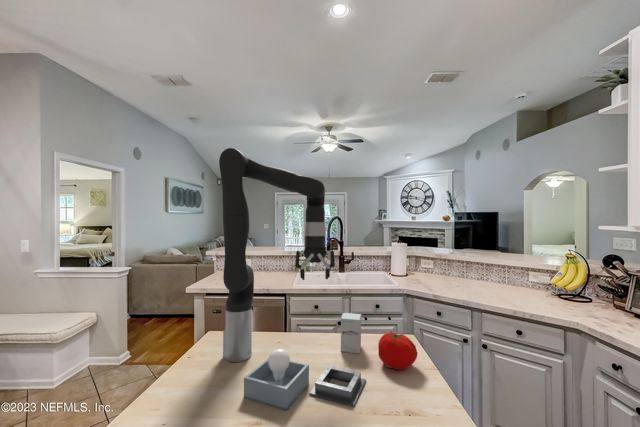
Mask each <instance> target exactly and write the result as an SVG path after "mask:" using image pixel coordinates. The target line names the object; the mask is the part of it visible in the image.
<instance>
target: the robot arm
mask: <svg viewBox="0 0 640 427" xmlns="http://www.w3.org/2000/svg"><path fill="white" fill-rule="evenodd" d="M218 164H219V165H218V166H219V171H220V172H219V173H220V179H221V180H220V181H221V187H222V188H221V189H222V193H221V194H222V227H223V245H224V261H223V262H224V264H223V276H222V277H223V278H222V279H223V280H222V281H223V285H224V287H225V288H226V289H227V290H228V295H227V299H226V302H225V329H223V331H222V334H223V336H222V358H224V359H225V360H226V361H227V362H231V363H237V362H243V361H246V360H248V359H250V358H251V357H252V353H253V352H252V347H253V346H252V345H253V344H252V337H253V335H252V334H253V331H252V330H253V328H252V327H253V326H252V325H253V324H252V323H253V321H252V320H253V299H254V294H255V293H254V289H255V288H254V287H255V274H254V270H253V268H252V267H251V266H250V265H249V264H247V258H246V257H247V256H246V250H247V243H248V239H249V235H250V234H249V233H250V213H249V206H248V202H247V198H246V195H245V191H244V186H243V185H244V184H243V178H246V179H252V180H257V181H260V182H263V183H265V184H268V185H271V186H273V187H276V188H279V189H281V190H284V191H288V192H291V193H297V194H300V195H303V196H305V197H306V209H305V225H304V226H305V227H304V249H303V251H302V250H296V251H295V264H294V265H295V268H296V269H299V271H300V273H299V275H300V279H301V280H302V281H305V280H306V279H305V277H306V276H305V271H306V270H305V267H307V265H308V264H309V263H311V264H313V263H318V264H320V263H322V264H323V265H324V266H325V271H324V275H325V276H324V278H325V280H328V279H329V278H330V277H331V268H335V266H336V263H335V251H334V250H332V249H330V250H326V234H327V232H326V222H325V221H326V219H325V216H326V214H325V212H326V211H325V201H326V200H325V198H326V197H325V195H326V188H325V185H324V183H323V182H322V181H321V180H320V179H317V178H314V177H311V176H305V175H301V174H299V173H296V172H292V171H289V170H287V169H283V168H280V167H274V166H271V165H270V166H269V165H265V164H262V163H259V162H257V161H256V160H253V159H251V158H249V157H247V156H246V155H245V154H244V153H243V152H241V151H240V150H238V149H237V148H234V147H233V148H232V147H227V148H225V149H224V150H223V151H222V152H221V153H220V155H219V160H218ZM302 256H304V257H305V259H304V261H303V262H302V264H300V258H302ZM326 256H328V257H329V260H330V262H329V263H328V262H327V261H326V259H325V257H326Z"/></svg>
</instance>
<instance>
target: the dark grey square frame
mask: <svg viewBox="0 0 640 427" xmlns="http://www.w3.org/2000/svg"><path fill="white" fill-rule="evenodd" d="M331 379H333V380H335V381H336V380H337V381H341V382H344V383H349V384H348V385H347V386H342V385H338V384H333V383H330V381H331ZM366 382H367V379H366V378H362V372H361V371H357V370H356V371H355V370H351V369H346V368H342V367H337V366H333V365H328V366H327V367H326V368H325V369H324V371H323V372H322V373H321V375H320V376H319V377H318V379H316V381H315V383H314V386H313V387H312V389H311V390H310V392H309V393H308V394H309V396H311V397H315V398H319V399H323V400H327V401H330V402H333V403H338V404H341V405H346V406H349V407H353V408H354V407H355V406H356V404H357V401H358V399H359V396H360V395H361V393H362V390H363V388H364V386H365V384H366Z"/></svg>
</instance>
